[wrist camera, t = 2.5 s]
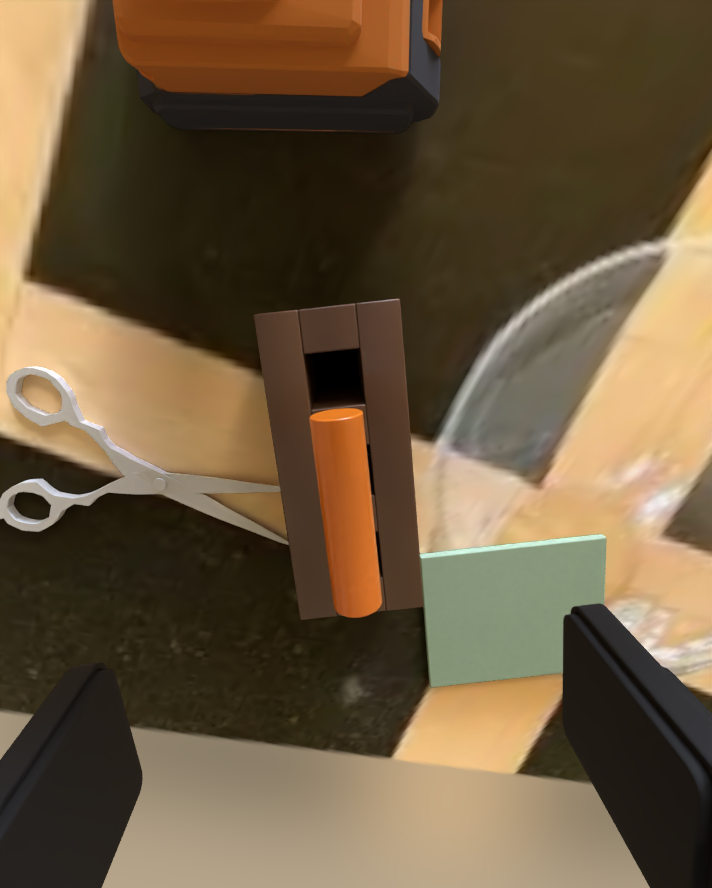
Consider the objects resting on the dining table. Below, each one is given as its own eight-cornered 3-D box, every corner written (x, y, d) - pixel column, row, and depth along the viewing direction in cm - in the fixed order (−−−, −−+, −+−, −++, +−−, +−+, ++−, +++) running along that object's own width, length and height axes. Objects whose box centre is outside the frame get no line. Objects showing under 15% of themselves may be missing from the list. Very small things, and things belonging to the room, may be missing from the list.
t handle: (354, 374, 29) (364, 416, 17) (367, 501, 31) (384, 615, 19) (320, 378, 29) (307, 422, 17) (335, 505, 31) (333, 621, 19)
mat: (602, 533, 32) (606, 537, 31) (598, 662, 34) (602, 669, 34) (419, 553, 32) (420, 558, 31) (429, 681, 34) (430, 688, 34)
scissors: (-20, 355, 27) (330, 442, 29) (-10, 353, 28) (330, 439, 30) (-33, 526, 30) (290, 597, 31) (-23, 520, 30) (291, 590, 32)
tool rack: (387, 301, 28) (400, 298, 22) (408, 553, 32) (423, 607, 26) (271, 314, 28) (253, 314, 22) (307, 564, 32) (300, 620, 26)
